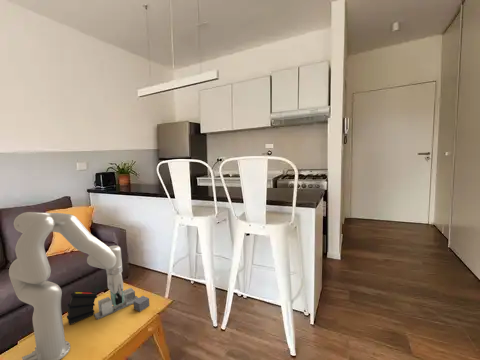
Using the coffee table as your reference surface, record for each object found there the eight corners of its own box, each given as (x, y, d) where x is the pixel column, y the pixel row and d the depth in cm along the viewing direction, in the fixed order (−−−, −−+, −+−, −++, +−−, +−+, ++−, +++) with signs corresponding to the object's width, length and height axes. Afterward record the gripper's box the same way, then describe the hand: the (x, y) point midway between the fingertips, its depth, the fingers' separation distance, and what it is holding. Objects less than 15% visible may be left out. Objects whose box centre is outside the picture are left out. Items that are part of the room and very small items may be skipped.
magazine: (59, 322, 124) (72, 290, 127) (88, 320, 134) (99, 291, 136) (61, 325, 122) (74, 293, 125) (90, 324, 131) (101, 294, 134)
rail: (97, 320, 128) (95, 306, 127) (94, 315, 131) (92, 302, 130) (140, 300, 143) (139, 288, 142) (136, 297, 147) (135, 285, 146)
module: (114, 306, 134) (112, 293, 133) (111, 303, 137) (110, 291, 136) (123, 302, 137) (122, 289, 136) (120, 299, 140) (119, 287, 139)
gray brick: (140, 312, 134) (139, 304, 133) (134, 309, 136) (133, 301, 136) (149, 306, 139) (148, 298, 138) (143, 303, 141) (143, 295, 141)
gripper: (101, 267, 138) (104, 298, 140) (112, 277, 126) (115, 312, 128) (115, 262, 143) (118, 293, 145) (128, 272, 131) (130, 305, 134)
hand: (117, 301), depth 137 cm, fingers closed on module, 4 cm apart
